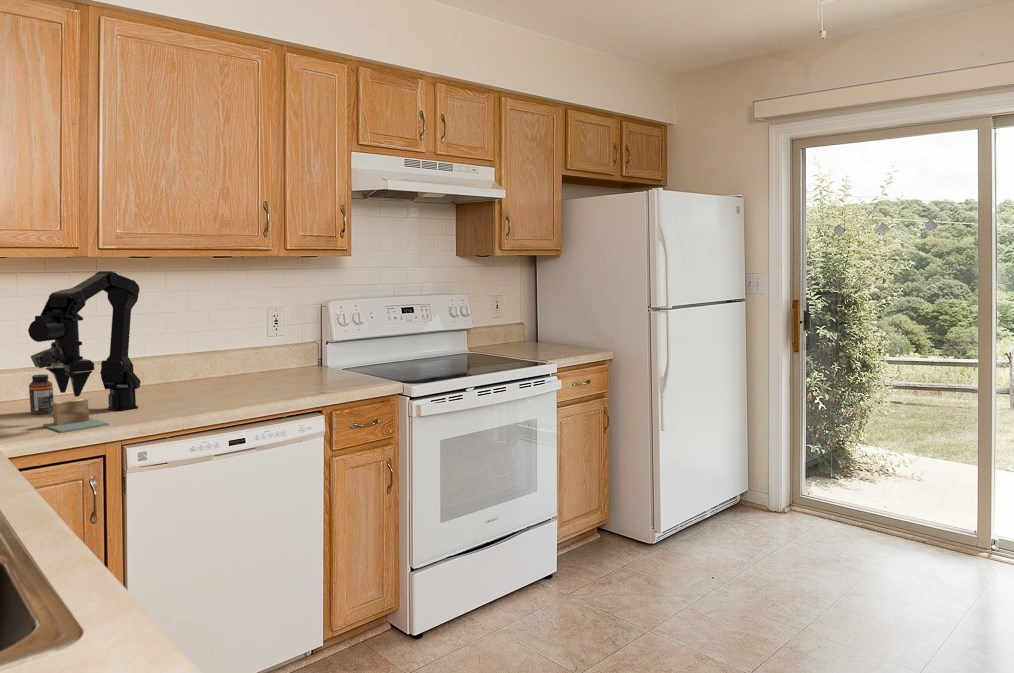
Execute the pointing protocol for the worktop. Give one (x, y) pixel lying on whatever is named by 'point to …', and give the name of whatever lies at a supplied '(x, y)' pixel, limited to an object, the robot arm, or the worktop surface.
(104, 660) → the worktop surface
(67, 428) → the mat
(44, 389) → the supplement bottle
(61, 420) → the slab
